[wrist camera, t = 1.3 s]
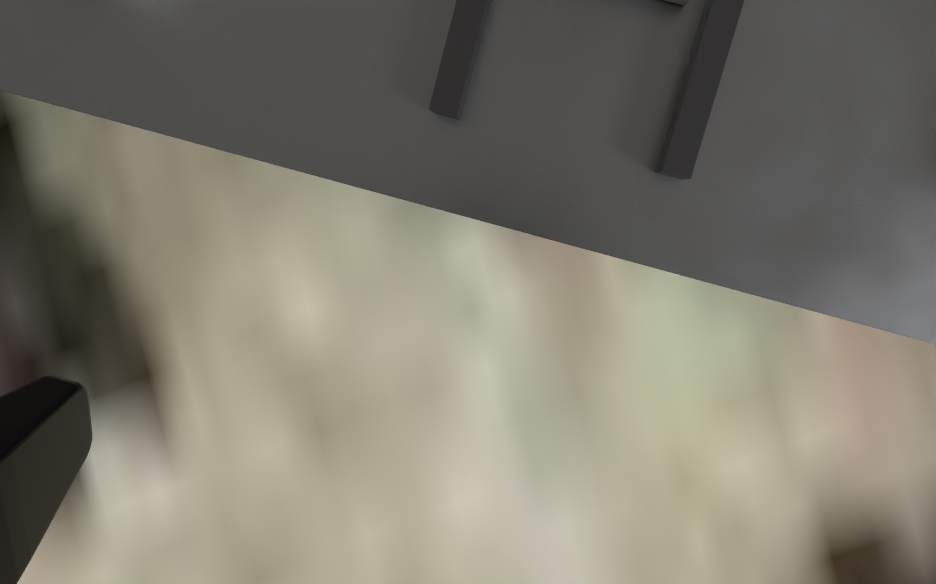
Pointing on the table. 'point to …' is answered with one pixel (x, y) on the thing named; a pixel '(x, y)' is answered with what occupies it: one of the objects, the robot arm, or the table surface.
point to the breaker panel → (559, 121)
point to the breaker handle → (679, 1)
